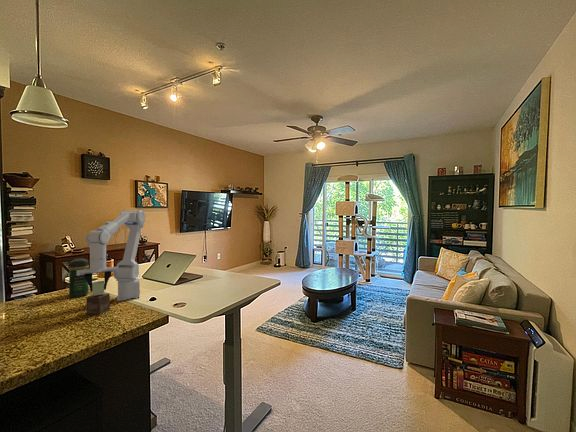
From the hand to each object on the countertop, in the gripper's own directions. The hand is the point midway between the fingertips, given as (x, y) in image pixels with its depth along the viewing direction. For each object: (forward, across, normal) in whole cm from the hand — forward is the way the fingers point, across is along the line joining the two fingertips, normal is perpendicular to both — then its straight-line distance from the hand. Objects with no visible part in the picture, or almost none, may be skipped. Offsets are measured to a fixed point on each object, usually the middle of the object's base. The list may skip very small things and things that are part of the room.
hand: (98, 290), depth 116 cm
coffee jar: (+10, -9, +33) cm, 36 cm away
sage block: (+2, 0, 0) cm, 2 cm away
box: (+10, 0, 0) cm, 10 cm away
